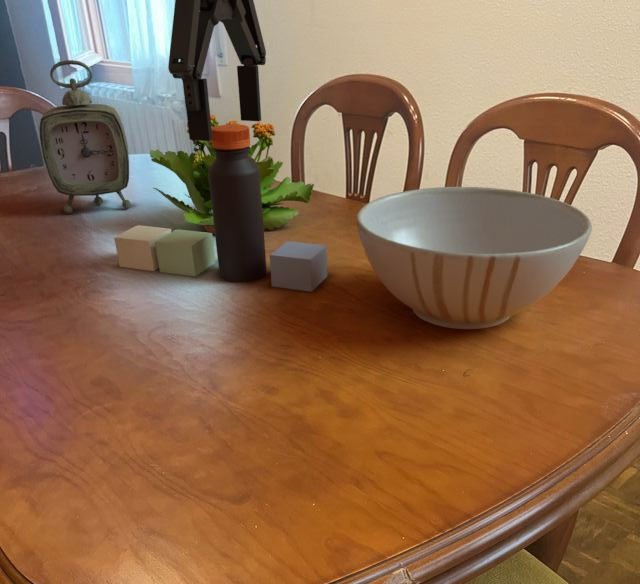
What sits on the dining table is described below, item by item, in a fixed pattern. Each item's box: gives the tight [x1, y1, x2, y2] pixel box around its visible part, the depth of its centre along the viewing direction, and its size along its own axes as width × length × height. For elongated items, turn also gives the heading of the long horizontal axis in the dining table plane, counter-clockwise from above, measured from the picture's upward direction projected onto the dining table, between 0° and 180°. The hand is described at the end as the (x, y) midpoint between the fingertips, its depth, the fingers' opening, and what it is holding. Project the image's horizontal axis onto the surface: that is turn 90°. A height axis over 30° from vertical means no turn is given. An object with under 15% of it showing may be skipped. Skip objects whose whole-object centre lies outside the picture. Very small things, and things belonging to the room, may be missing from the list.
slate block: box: [269, 240, 328, 292], centre depth 91 cm, size 6×6×5 cm
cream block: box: [113, 224, 173, 272], centre depth 99 cm, size 6×6×5 cm
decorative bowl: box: [355, 186, 593, 330], centre depth 80 cm, size 27×27×12 cm
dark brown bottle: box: [208, 124, 268, 284], centre depth 89 cm, size 7×7×20 cm
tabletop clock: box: [39, 59, 132, 215], centre depth 120 cm, size 14×9×25 cm, turn 104°
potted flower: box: [149, 114, 315, 235], centre depth 110 cm, size 25×24×18 cm
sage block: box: [155, 228, 216, 277], centre depth 96 cm, size 6×6×5 cm
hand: (227, 129), depth 84 cm, fingers open, 13 cm apart
